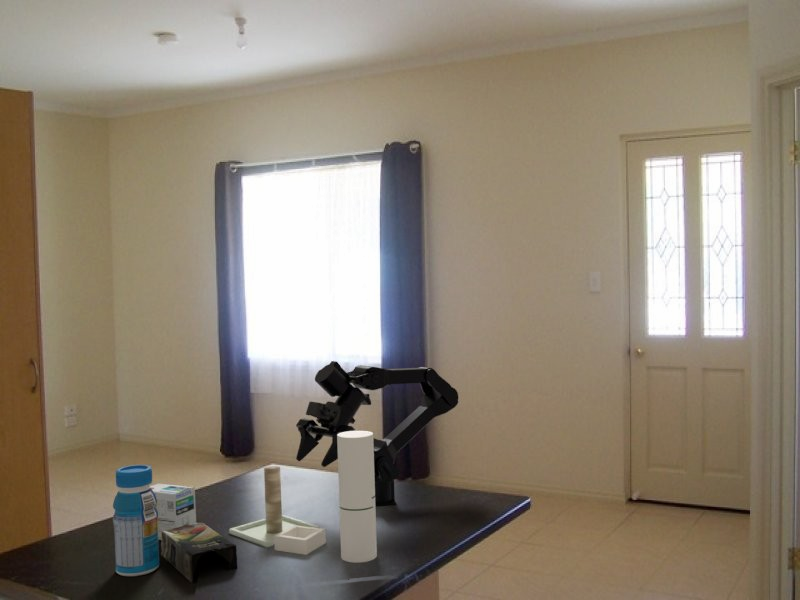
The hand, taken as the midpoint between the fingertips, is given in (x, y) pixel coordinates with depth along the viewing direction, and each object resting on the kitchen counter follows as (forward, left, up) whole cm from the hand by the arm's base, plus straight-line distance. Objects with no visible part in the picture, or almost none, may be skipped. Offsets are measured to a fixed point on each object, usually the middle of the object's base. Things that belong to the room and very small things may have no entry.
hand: (309, 463), depth 182 cm
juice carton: (+24, +21, -14) cm, 35 cm away
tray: (+9, +7, -14) cm, 18 cm away
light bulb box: (+32, +1, -14) cm, 35 cm away
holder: (+4, +18, -14) cm, 23 cm away
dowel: (+9, +7, -13) cm, 17 cm away
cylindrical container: (-7, +27, -14) cm, 31 cm away
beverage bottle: (+36, +21, -14) cm, 44 cm away
